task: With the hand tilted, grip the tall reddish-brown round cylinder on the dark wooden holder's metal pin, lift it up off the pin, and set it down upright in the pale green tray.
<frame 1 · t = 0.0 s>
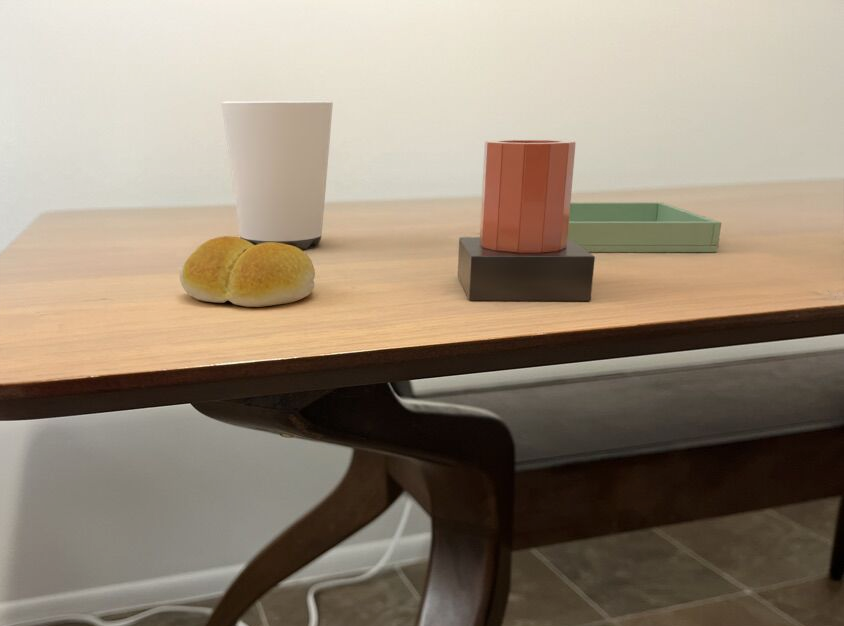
tray: (595, 238, 78), on the table
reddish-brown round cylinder: (522, 245, 57), point 3 cm above the table, touching ring holder
ring holder: (519, 288, 58), on the table
cup: (281, 247, 76), on the table
bread roll: (248, 297, 56), on the table
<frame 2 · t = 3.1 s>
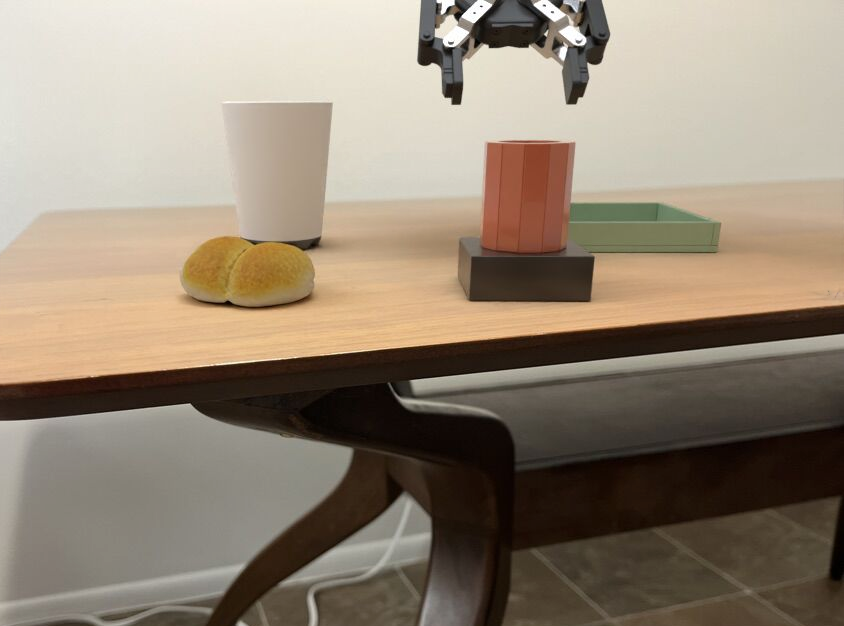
hand: (515, 96, 60), 13 cm above the table, tool tilted 45°, fingers open, 8 cm apart
nothing on the table moved.
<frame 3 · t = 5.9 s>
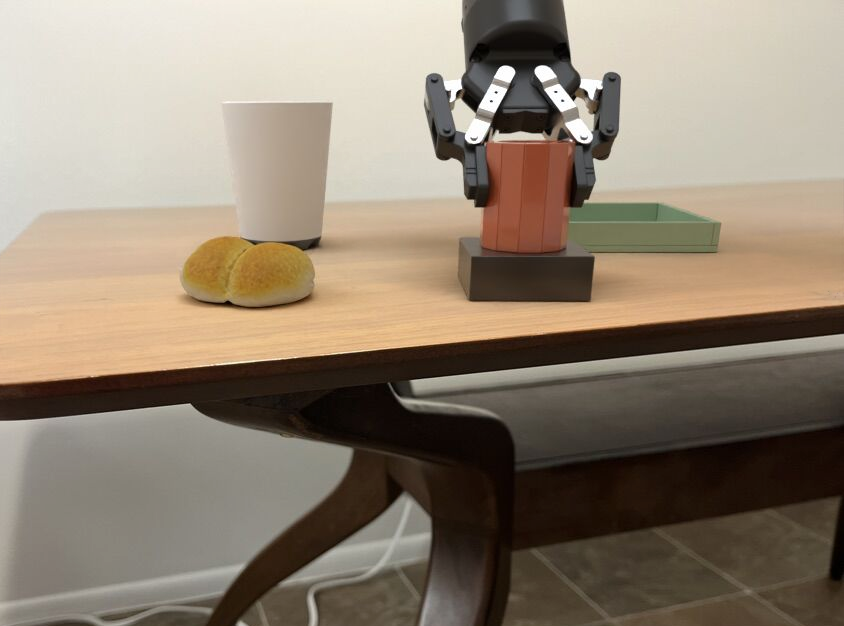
hand: (530, 199, 54), 6 cm above the table, tool tilted 45°, fingers closed on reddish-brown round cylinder, 6 cm apart
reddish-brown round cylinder: (522, 245, 57), point 3 cm above the table, touching gripper, ring holder
everything else where it was.
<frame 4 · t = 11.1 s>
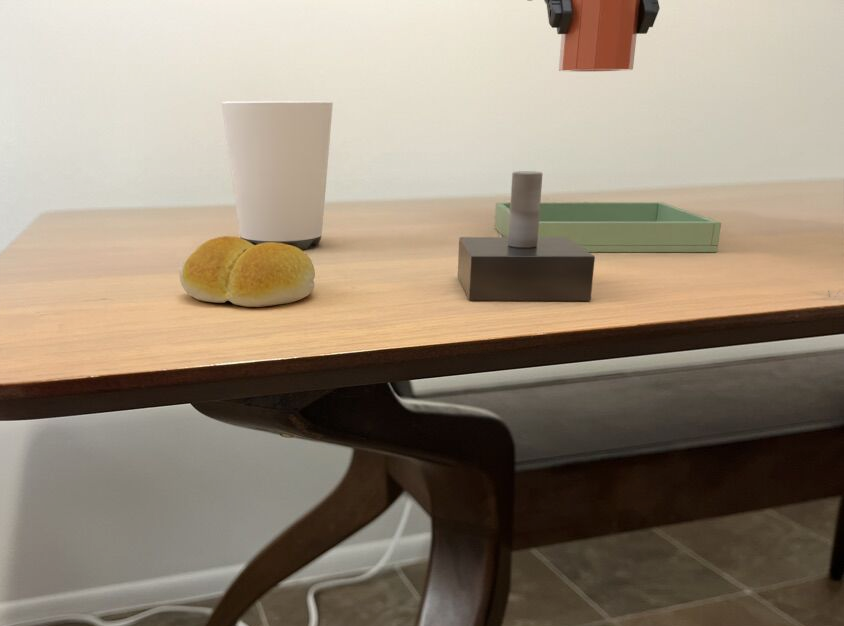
hand: (605, 24, 65), 18 cm above the table, tool tilted 45°, fingers closed on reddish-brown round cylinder, 6 cm apart
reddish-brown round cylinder: (595, 70, 68), point 15 cm above the table, touching gripper
everything else where it was.
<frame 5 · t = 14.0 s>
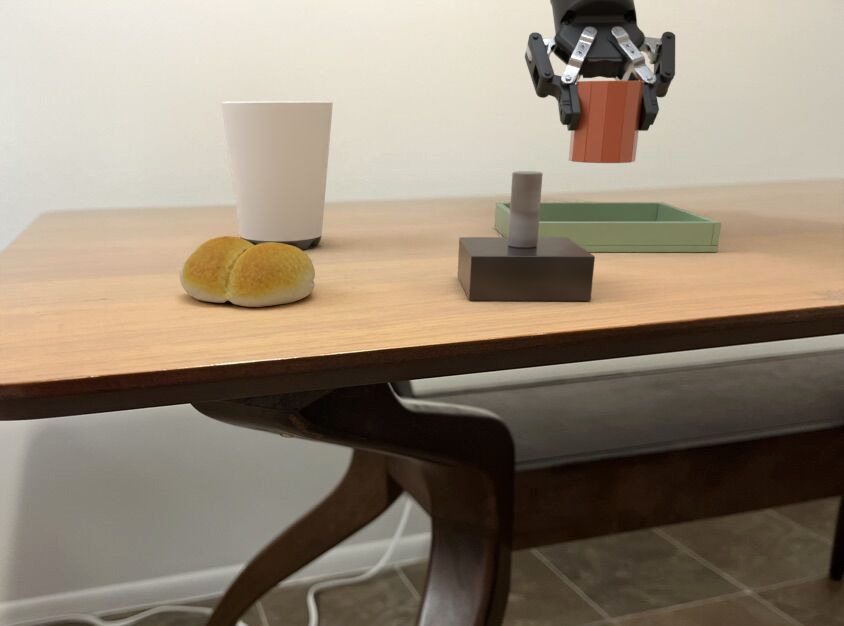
hand: (610, 123, 73), 11 cm above the table, tool tilted 45°, fingers closed on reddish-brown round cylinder, 6 cm apart
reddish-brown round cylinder: (601, 160, 76), point 7 cm above the table, touching gripper
everything else where it was.
when the fingers open (4 cm above the table, at t = 16.4 s): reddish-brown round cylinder stays where it is, resting on tray.
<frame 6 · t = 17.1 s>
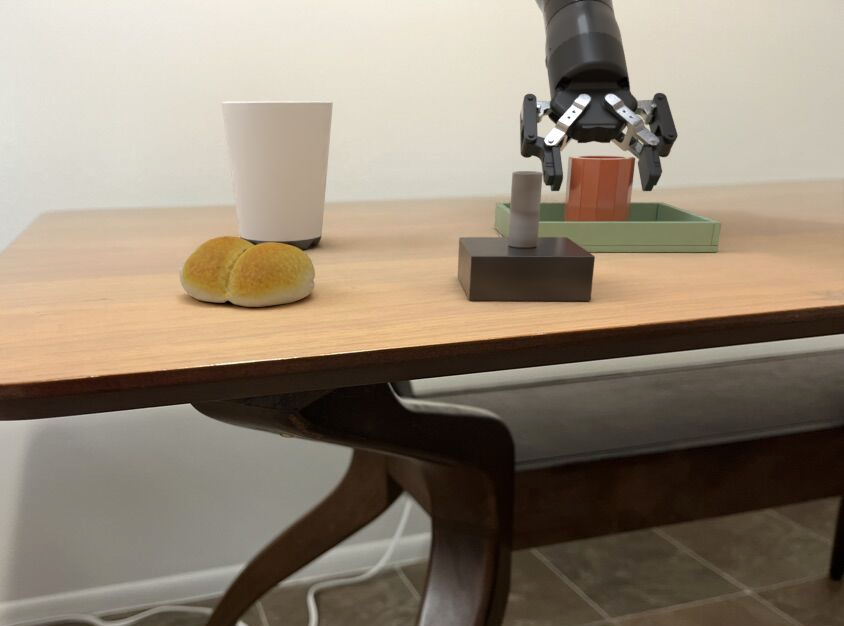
hand: (603, 185, 76), 5 cm above the table, tool tilted 45°, fingers open, 8 cm apart
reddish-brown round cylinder: (594, 232, 78), point 1 cm above the table, touching tray
everything else where it was.
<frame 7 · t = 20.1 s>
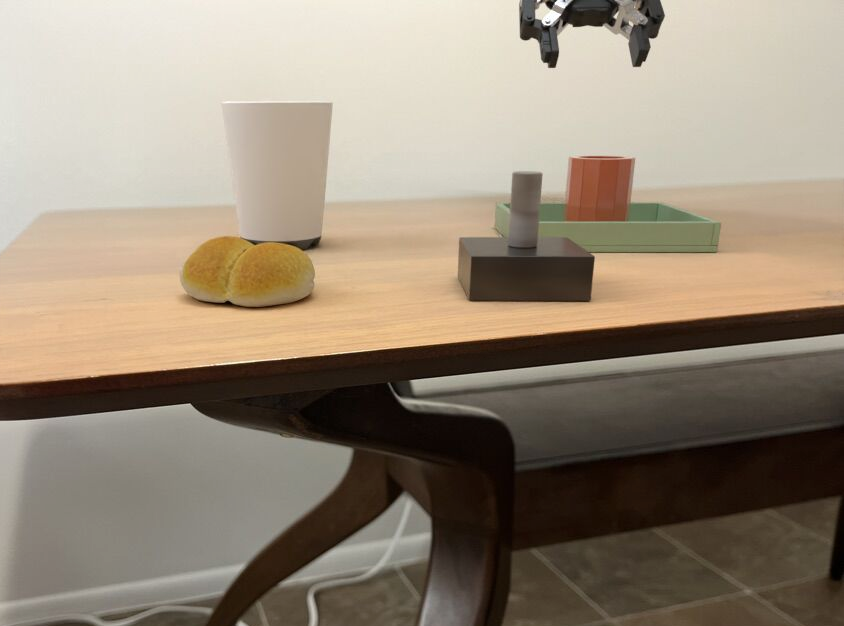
hand: (596, 61, 82), 16 cm above the table, tool tilted 45°, fingers open, 8 cm apart
nothing on the table moved.
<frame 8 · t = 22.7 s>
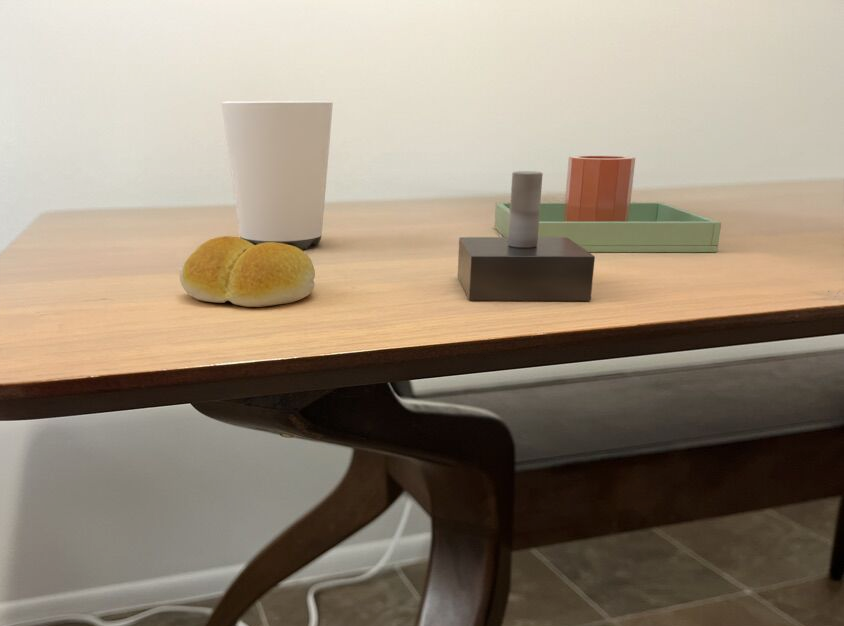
nothing on the table moved.
at the end: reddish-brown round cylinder inside the target area in the tray (0.1 cm from its centre), point 0.6 cm above the tray's base; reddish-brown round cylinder tilted 0°; the gripper is holding nothing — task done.
